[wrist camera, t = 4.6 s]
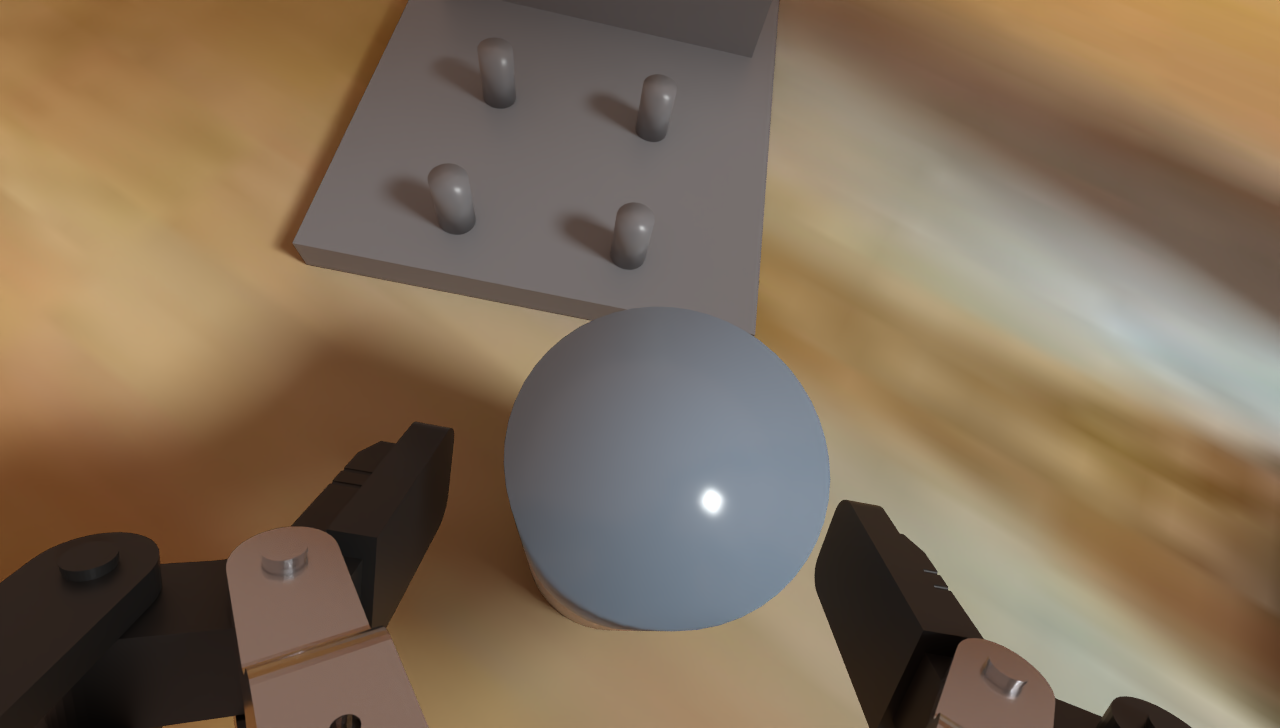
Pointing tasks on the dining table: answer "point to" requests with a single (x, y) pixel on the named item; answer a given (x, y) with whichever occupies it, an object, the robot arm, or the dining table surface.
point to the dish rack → (560, 156)
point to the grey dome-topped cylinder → (664, 472)
